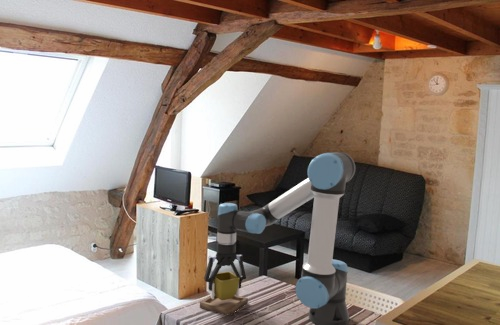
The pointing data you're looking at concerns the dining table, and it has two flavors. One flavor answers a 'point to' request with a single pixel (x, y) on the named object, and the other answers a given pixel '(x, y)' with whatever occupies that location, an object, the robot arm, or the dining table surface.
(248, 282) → the dining table surface
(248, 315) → the dining table surface
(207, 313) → the dining table surface
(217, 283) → the flower pot
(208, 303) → the walnut tray
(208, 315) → the dining table surface
